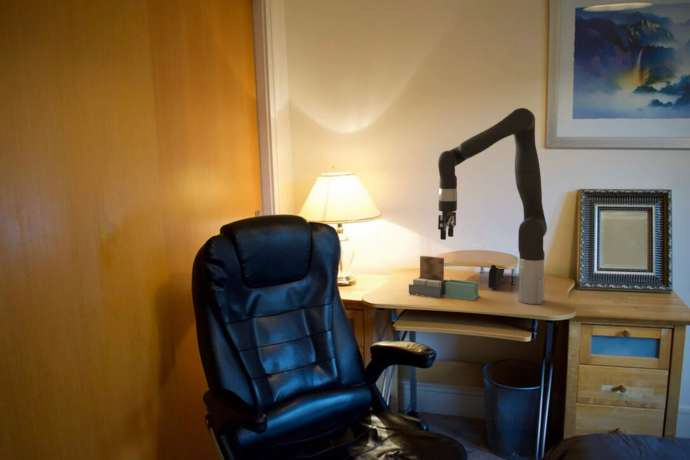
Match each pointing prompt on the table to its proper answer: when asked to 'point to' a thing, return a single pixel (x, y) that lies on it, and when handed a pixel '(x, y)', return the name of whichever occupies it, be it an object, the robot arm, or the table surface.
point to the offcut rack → (429, 290)
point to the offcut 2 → (433, 283)
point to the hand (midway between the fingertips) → (446, 238)
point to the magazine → (495, 276)
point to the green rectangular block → (462, 289)
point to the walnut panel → (432, 268)
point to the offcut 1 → (419, 281)
